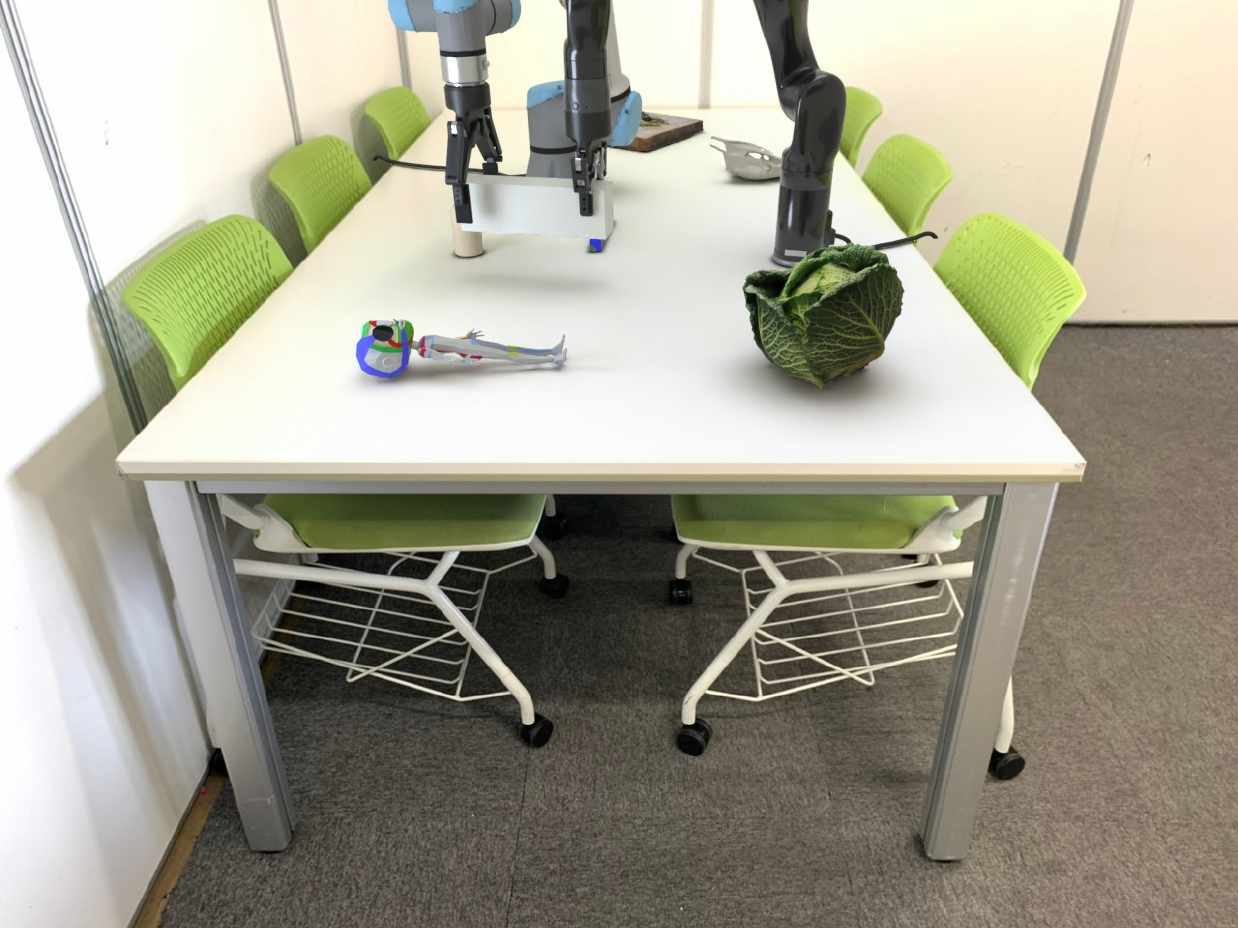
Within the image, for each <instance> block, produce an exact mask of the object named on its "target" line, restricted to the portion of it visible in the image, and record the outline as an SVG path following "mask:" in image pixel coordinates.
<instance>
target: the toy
mask: <svg viewBox="0 0 1238 928" xmlns="http://www.w3.org/2000/svg"><path fill="white" fill-rule="evenodd" d="M474 331H475V328H472V329H471V330H469V331H468V332H467V333H466V334H465V335H463V336H458V337H449V336H448V337H447V336H442V335H439V334H428V335H423V336H421V338H420V339H419V341H417V340H414V336H415V329H414V326H413V324H412V322H410V321H408V320H407V319H399V320H397V319H395V318H392V320H387V319H379V320H368V321H367V322H365V323H364V324H362V326H361V329H360V331H359V333H358V334H357V338H356V340H355V342H354V354H353V355H354V357H355V359H356V362H357V364H358V366H359V369H360V370H361V372H364V373H366V374H367V375H370V376H373V377H377V378H382V379H383V378H384V379H392V378H394V377H396V376H398V375H400V374H401V375H402V374H403V372H404V371H405V370H406V368H407V367H408V366H409V364H410V357H411V355H412V350H415V351H417V353H418V356H419V357H421V358H422V359H430V360H434V361H438V362H442V363H444V364H449V365H458V364H459V365H461V364H465V365H471V366H477V367H479V368H480V367H481V366H482V365H483V363H482V362H478V361H480V360H482V359H487V360H488V359H489V360H503V361H509V362H514V363H517V364H520V365H528V366H529V365H542V364H550V363H553V364H555V365H557V366H559V367H562V366H563V364H564V362H565V361H566V360H567V357H568V355H567V353H568V348H566V347H565V348H564V345H565V340H566V334H565V333H563V334H562V338H561V340H560V341H559V343H558V344H556V345H555V346H554V347H552V348H533V347H532V348H531V347H523V346H518V345H517V346H516V345H504V344H501V343H498V342H494V341H488V340H482V339H478V338H479V337H480V338H481V337H485V334H480V333H482V332H483V331H482V330H479V331H476V332H474ZM563 349H564V350H563ZM453 353H455V354H457V355H459V357H458V356H455V355H448V354H453ZM445 354H447V355H445Z"/></svg>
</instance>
